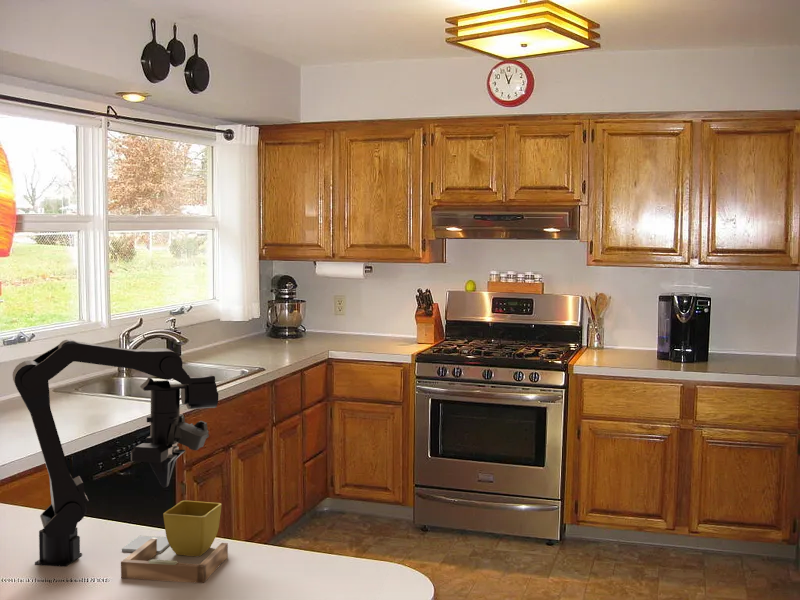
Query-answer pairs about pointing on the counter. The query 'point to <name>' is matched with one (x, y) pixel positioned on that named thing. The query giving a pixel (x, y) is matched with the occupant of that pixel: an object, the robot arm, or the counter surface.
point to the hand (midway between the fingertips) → (164, 486)
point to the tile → (140, 540)
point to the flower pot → (192, 526)
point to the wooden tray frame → (169, 565)
